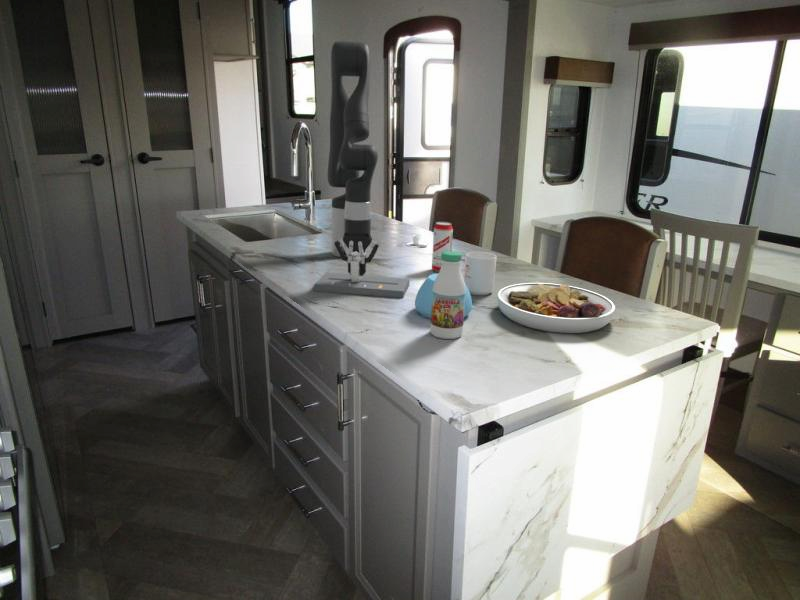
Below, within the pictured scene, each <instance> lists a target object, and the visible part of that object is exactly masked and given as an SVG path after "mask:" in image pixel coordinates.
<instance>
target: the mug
mask: <svg viewBox="0 0 800 600" xmlns="http://www.w3.org/2000/svg"><path fill="white" fill-rule="evenodd" d="M464 257H465V261H464V275H463V279H464V282H465V284H466V286H467V288H468V290H469V292H470V295H474V296H487V295H489V294H491V293H492V292H493V291H494V287H495V279H496V278H495V277H496V267H497V258H498V257H497V255H496V254H494V253H491V252H487V251H470V252H467V253H466V254H465V256H464Z"/></svg>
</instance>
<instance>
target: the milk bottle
mask: <svg viewBox="0 0 800 600" xmlns="http://www.w3.org/2000/svg"><path fill="white" fill-rule="evenodd" d="M462 256H463V254H462V253H461V252H460V251H457V250H452V251H444V252H442V255H441V259H442V260H441V262H442V266H441V269H440V272H438V273H437V274H438V275H437V277H436V279H435V282H434V286H433V295H432V310H431V319H430V326H429V328H430V331H429V332H430V334H431V335H432V336H434V337H435V338H439V339H441V340H442V339H443V340H454V339H458V338H460V337H461V336H462V334H463V332H464V331H463V330H464V322H465V321H464V320H465V319H464V318H465V317H464V307H465V282H464V275H463V274H462V270H461V264H462Z"/></svg>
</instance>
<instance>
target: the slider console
mask: <svg viewBox="0 0 800 600" xmlns="http://www.w3.org/2000/svg"><path fill="white" fill-rule="evenodd" d="M410 281H411V279H410V278H406V277H405V278H404V277H402V278H401V277H393V276H392V277H391V276H379V275H378V276H377V275H376V276H375V275H366V274H364V275H363V276H362V278H361V279H360V281H359V282H352V279H351V275H350V273H340V272H327V271H326V272H325V273H324V274H323V275H322V276H321V277H320V278H319V279H318V280H317V281H316V282H315V283H314V284H313V285H314V286H313V287H314V288H313V291H314V292H315V291H316V292H325V293H336V294H348V295H349V294H350V295H360V296H361V295H363V296H373V297H374V296H375V297H386V298H387V297H388V298H397V299H404V297H405V295H406V293H407V292H408V289H409V287H410Z"/></svg>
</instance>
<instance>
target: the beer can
mask: <svg viewBox="0 0 800 600" xmlns="http://www.w3.org/2000/svg"><path fill="white" fill-rule="evenodd" d="M453 233H454V229H453V226H452V223H451V222H448V221H437V222H435V225H434V227H433V237H432V240H433V241H432V242H433V243H432V255H431V269H432V270H433V272H436V273H439V272H440V269H441V266H442V262H441V260H442V259H441V255H442V252H444V251H453V250H452V249H453Z"/></svg>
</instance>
